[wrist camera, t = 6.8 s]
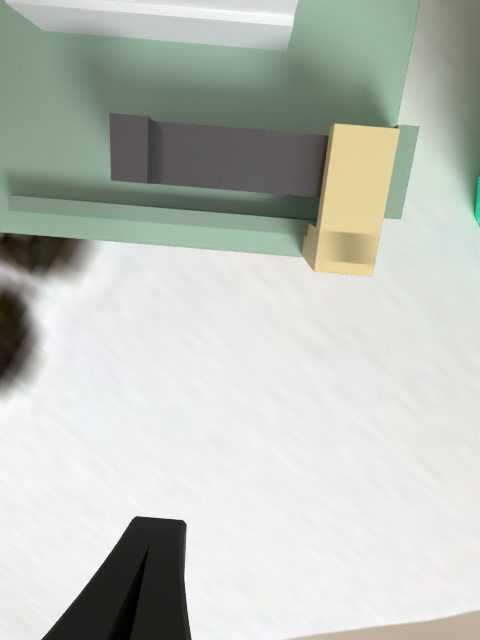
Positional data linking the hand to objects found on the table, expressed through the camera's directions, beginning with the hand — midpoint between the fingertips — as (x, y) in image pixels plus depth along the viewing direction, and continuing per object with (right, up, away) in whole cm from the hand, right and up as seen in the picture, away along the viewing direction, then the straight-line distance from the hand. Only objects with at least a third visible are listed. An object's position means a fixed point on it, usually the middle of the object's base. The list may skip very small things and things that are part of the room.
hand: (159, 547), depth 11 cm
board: (0, +15, +5) cm, 16 cm away
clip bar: (+3, +12, +5) cm, 13 cm away
